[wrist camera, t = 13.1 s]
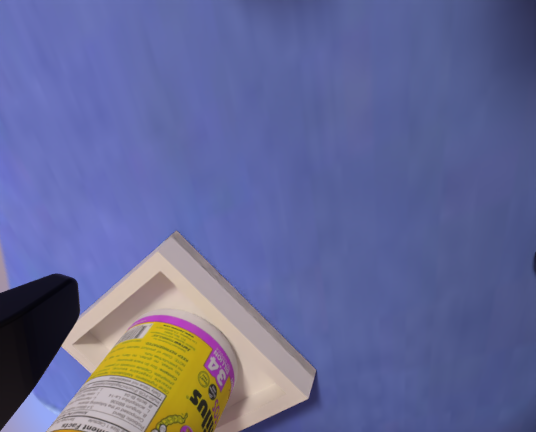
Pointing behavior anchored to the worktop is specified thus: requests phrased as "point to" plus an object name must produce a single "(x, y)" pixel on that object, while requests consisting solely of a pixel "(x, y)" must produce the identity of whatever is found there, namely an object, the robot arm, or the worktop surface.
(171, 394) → the supplement bottle
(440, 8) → the worktop surface
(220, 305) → the tray
